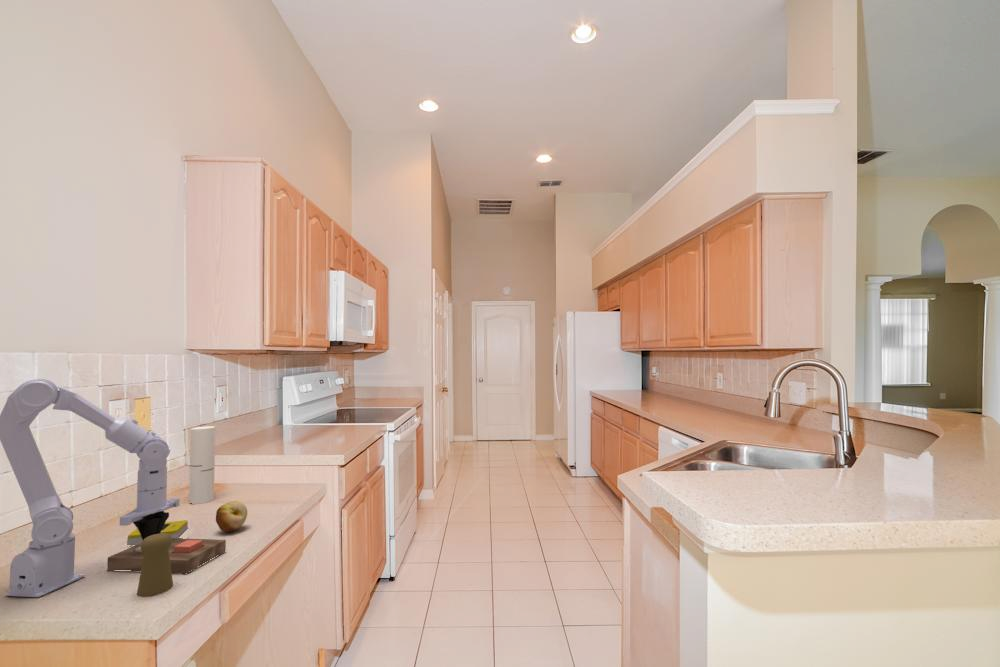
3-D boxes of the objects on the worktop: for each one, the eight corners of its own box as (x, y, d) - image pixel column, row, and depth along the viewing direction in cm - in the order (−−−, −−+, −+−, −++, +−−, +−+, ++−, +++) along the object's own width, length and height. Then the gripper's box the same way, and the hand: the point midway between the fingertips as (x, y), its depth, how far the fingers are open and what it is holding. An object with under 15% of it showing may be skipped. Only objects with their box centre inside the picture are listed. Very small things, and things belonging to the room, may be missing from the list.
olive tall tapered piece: (179, 582, 99) (181, 529, 100) (160, 596, 93) (161, 540, 94) (150, 583, 99) (152, 530, 99) (129, 597, 93) (130, 541, 93)
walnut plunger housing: (187, 574, 103) (187, 560, 103) (107, 570, 105) (107, 557, 105) (225, 552, 115) (225, 539, 115) (153, 549, 117) (153, 537, 117)
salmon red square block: (189, 561, 107) (189, 547, 107) (173, 561, 108) (173, 546, 108) (202, 554, 111) (202, 540, 111) (187, 553, 111) (187, 539, 112)
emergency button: (135, 520, 128) (197, 514, 132) (135, 536, 128) (197, 530, 132) (119, 532, 119) (186, 525, 123) (118, 549, 119) (185, 542, 123)
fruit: (212, 538, 124) (213, 507, 125) (218, 528, 132) (219, 499, 132) (244, 533, 127) (245, 504, 128) (248, 524, 135) (249, 496, 135)
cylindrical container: (193, 499, 161) (194, 427, 163) (216, 497, 164) (217, 425, 165) (186, 505, 155) (187, 429, 156) (210, 502, 157) (211, 428, 158)
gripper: (140, 497, 104) (138, 559, 103) (190, 480, 118) (189, 535, 117) (112, 496, 105) (110, 558, 104) (165, 480, 119) (164, 534, 118)
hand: (150, 546), depth 111 cm, fingers closed, pressing on off-white plunger
